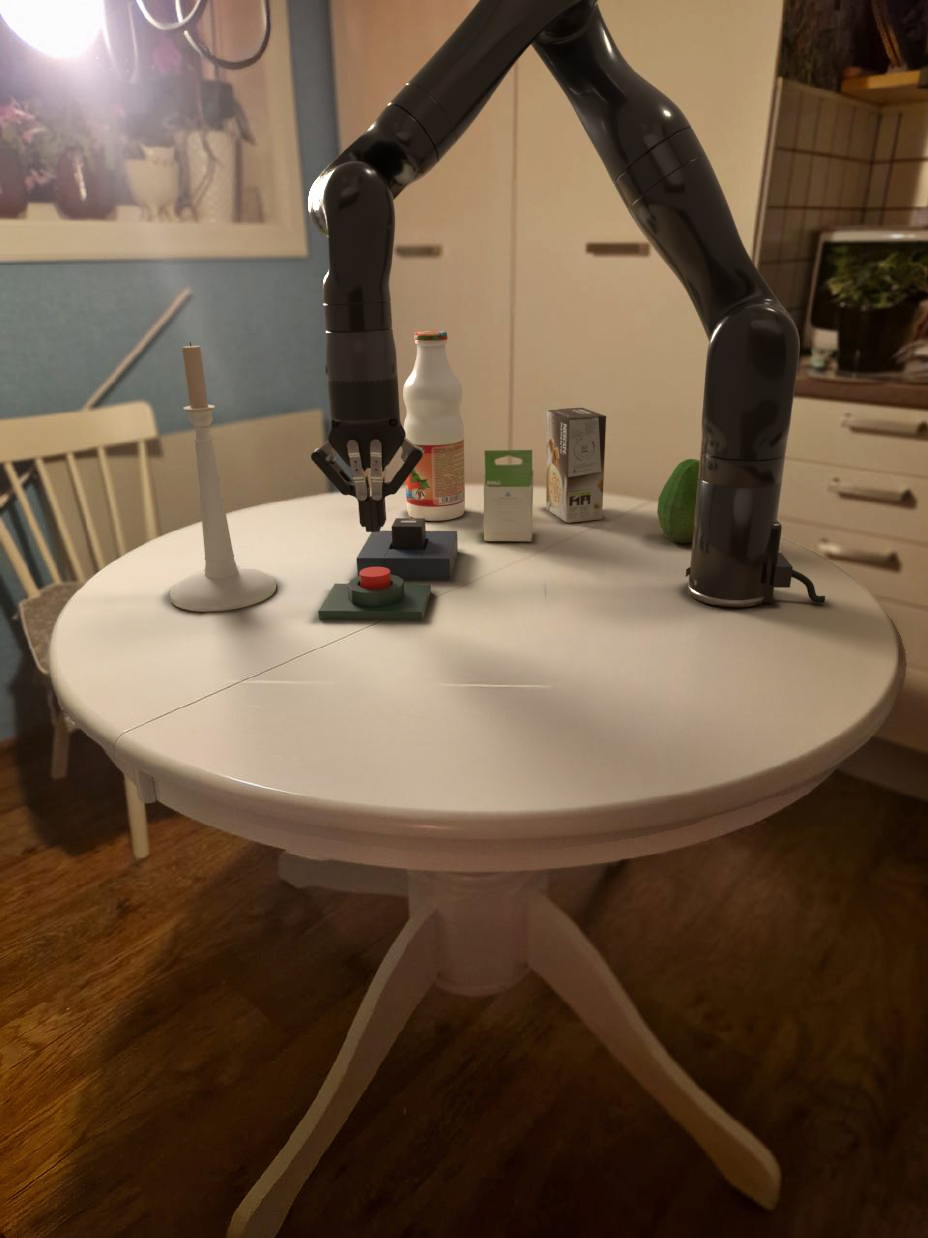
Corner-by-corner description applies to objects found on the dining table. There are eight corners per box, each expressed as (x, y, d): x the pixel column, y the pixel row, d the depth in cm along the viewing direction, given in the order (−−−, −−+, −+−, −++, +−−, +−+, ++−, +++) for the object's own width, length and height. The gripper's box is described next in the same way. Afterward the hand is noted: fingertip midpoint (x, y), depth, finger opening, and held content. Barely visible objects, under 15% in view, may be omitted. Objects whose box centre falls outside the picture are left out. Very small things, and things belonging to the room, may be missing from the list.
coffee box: (604, 519, 135) (608, 415, 128) (566, 524, 133) (569, 418, 127) (579, 505, 143) (582, 406, 137) (543, 508, 141) (545, 409, 135)
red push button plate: (430, 593, 107) (430, 570, 106) (422, 621, 98) (421, 597, 97) (335, 592, 108) (333, 569, 106) (318, 620, 99) (316, 596, 98)
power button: (393, 580, 104) (392, 566, 103) (388, 591, 100) (387, 576, 100) (363, 580, 104) (362, 566, 103) (357, 590, 100) (356, 576, 100)
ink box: (532, 534, 128) (533, 444, 123) (531, 542, 125) (533, 450, 119) (485, 534, 129) (485, 444, 124) (483, 542, 125) (482, 450, 120)
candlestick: (223, 619, 100) (186, 349, 88) (148, 599, 106) (104, 345, 95) (297, 585, 110) (272, 338, 98) (225, 569, 116) (194, 335, 105)
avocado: (722, 545, 122) (731, 460, 118) (678, 553, 119) (685, 467, 114) (686, 530, 129) (693, 450, 124) (643, 538, 126) (648, 456, 121)
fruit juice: (464, 521, 135) (461, 333, 124) (404, 522, 135) (395, 335, 125) (466, 505, 144) (463, 328, 133) (409, 506, 144) (402, 329, 133)
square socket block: (457, 551, 122) (457, 530, 121) (450, 580, 111) (449, 558, 110) (373, 550, 123) (372, 530, 121) (357, 579, 112) (356, 557, 110)
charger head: (426, 560, 118) (425, 517, 116) (423, 570, 115) (421, 525, 112) (397, 560, 119) (395, 517, 116) (393, 569, 115) (391, 525, 113)
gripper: (427, 368, 95) (434, 520, 102) (309, 371, 96) (323, 521, 103) (420, 377, 88) (427, 539, 95) (292, 379, 89) (309, 540, 96)
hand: (373, 529), depth 99 cm, fingers closed
